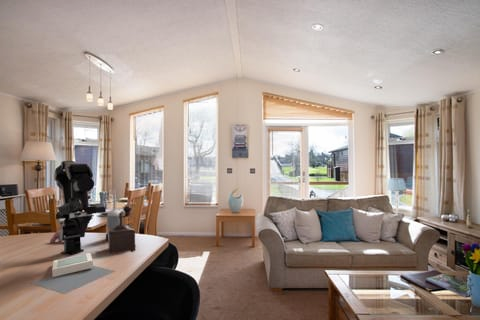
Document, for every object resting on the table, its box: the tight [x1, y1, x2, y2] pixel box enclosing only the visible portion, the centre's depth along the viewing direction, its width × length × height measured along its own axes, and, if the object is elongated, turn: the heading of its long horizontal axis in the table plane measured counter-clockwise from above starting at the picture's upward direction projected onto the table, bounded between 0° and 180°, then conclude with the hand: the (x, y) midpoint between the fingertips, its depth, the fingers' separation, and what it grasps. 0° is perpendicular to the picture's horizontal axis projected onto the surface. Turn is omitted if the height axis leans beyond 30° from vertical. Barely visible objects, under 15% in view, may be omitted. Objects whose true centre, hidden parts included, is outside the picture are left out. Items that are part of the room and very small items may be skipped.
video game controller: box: [49, 229, 63, 244], centre depth 135 cm, size 10×5×7 cm, turn 85°
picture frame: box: [51, 252, 94, 277], centre depth 100 cm, size 3×12×13 cm
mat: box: [31, 265, 116, 295], centre depth 92 cm, size 17×18×1 cm
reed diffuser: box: [105, 189, 122, 242], centre depth 139 cm, size 8×8×25 cm
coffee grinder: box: [107, 205, 136, 254], centre depth 125 cm, size 16×11×18 cm
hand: (82, 234), depth 107 cm, fingers closed
